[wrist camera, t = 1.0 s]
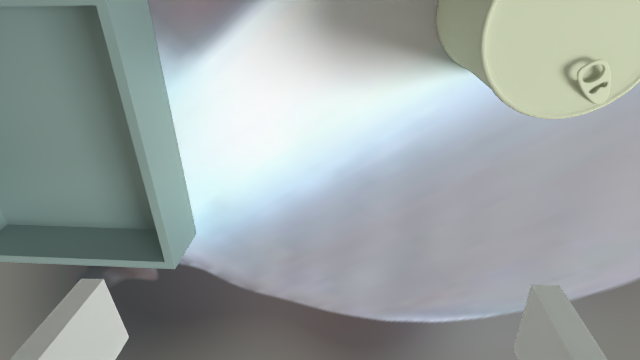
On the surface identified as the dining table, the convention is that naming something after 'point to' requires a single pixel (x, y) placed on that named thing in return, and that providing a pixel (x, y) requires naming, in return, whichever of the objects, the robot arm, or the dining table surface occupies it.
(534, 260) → the dining table surface
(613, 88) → the can
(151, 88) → the tote
